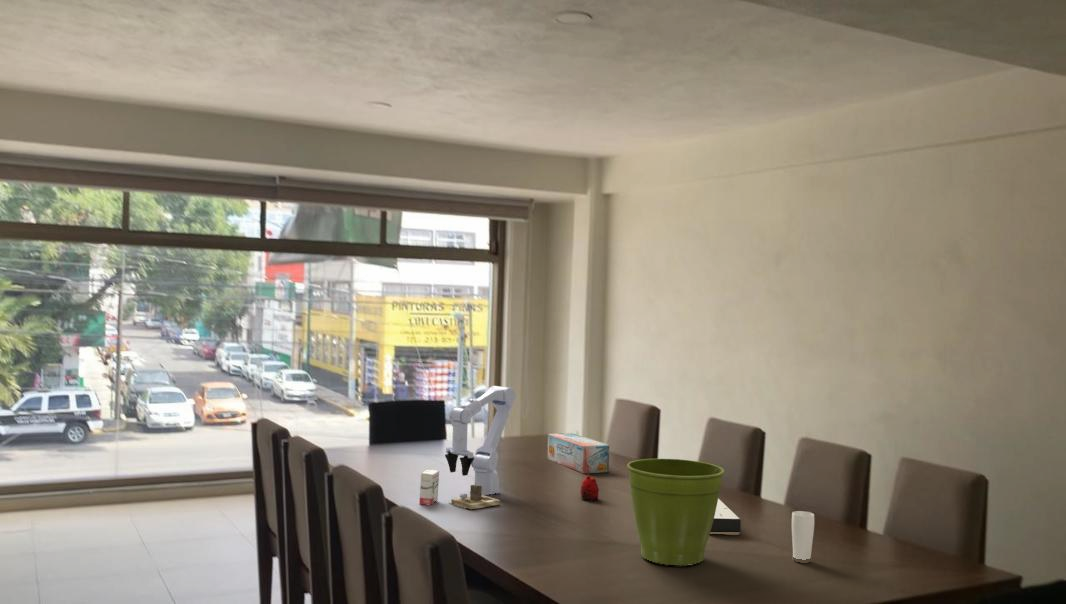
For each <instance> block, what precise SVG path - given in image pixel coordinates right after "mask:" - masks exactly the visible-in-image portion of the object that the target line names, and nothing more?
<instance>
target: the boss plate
mask: <svg viewBox="0 0 1066 604" xmlns="http://www.w3.org/2000/svg"><path fill="white" fill-rule="evenodd" d="M467 497H468V494H467V493H460V494H459V498H462V501H464V502H465V498H467ZM449 503H451V501H449V502H448V504H449ZM453 506H456V505H455V504H454V505H453ZM456 507H459V506H458V505H457V506H456ZM463 509H466V508H465V507H464V508H463Z"/></svg>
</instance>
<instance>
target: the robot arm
mask: <svg viewBox="0 0 1066 604" xmlns="http://www.w3.org/2000/svg"><path fill="white" fill-rule="evenodd" d="M515 400H516V394H515V390H514V388H513V387H511V386H500V385H499V386H498V385H492V386H491V387H488V388H487V391H486V392H485V393H483V394H482V395H480V396H479V397H478V398H477V399H476V398H469V400H468V401H467V402H466V403H465V404H464V403H463V404H461V406H460V407H455V408H453V409H452V410H451V412H450V415H449V419H450V422H451V426H452V441H451V444H452V446H450V447H446V448H445V453H446V454H444V457H445V459H446V461H447V464H448V468H449V473H456V471H457V463H458V459H459V460H460V464H461V474H462V476H463V477H465V476H468V475H469V471H470V467H472V469H473V471H474V485H476V484H477V485H481V486H482V495H484V496H488V495H489V494H490V495H494V494H495V493H496V494H500V491H499V486H500V485H499V479H500V478H499V474H498V472H497V470H496V469H497V467H498V461H499V458H500V457H499V456H500V455H499V454H498V452H497V450H496V449H497V447H498V446H499V443H500V440H501V437H502V434H503V433H504V430H505V427H506V424H507V422H508V420H509V417H510V414H511V411H512V407H513V406H514V402H515ZM490 403H491V404H492V405H493V407H494V408H495V410H496V412H495V414H494V417H493V419H492V422H491V424H490V427H489V430H488V433H487V434H486V437H485V440H484V442H483V445H481V446H480V447H478V448H477V449H476V451H475V453H474V452H472V451H470V450H468V425H469V423H470V421H471V419H472V417H474V416H475V415H477V414H478V413H480V412H481V411H482V407H484V406H486V405H488V404H490ZM459 456H461V457H459ZM496 494H495V495H496Z"/></svg>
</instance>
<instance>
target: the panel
mask: <svg viewBox="0 0 1066 604" xmlns="http://www.w3.org/2000/svg"><path fill="white" fill-rule="evenodd" d="M469 494H470V495H469V496H468V495H467V498H465V502H464V501H462V498H460V497H457V498H451V500H450V502H451V504H450V505H452V504H455V505H454V506H456V505H458V506H457V507H459V506H461V507H460V508H462V507H465V508H464V509H466V508H468V509H467V510H475V509H476V510H477V509H482V508H486V507H492V506H498V505H500V504H501V500H500V499H498V498H493V497H490V496H488V495H482V486H481V485H477V484H476V485H475V484H471V485H470V491H469Z"/></svg>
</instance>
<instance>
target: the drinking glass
mask: <svg viewBox="0 0 1066 604" xmlns="http://www.w3.org/2000/svg"><path fill="white" fill-rule="evenodd" d="M814 532H815V514H814V513H812V512H811V511H806V510H805V511H803V510H797V511H792V513H791V540H792V558H793V557H794V558H796V559H802V560H806V559H810V558H811V559H812V550H813V549H812V547H813V539H814Z"/></svg>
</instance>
